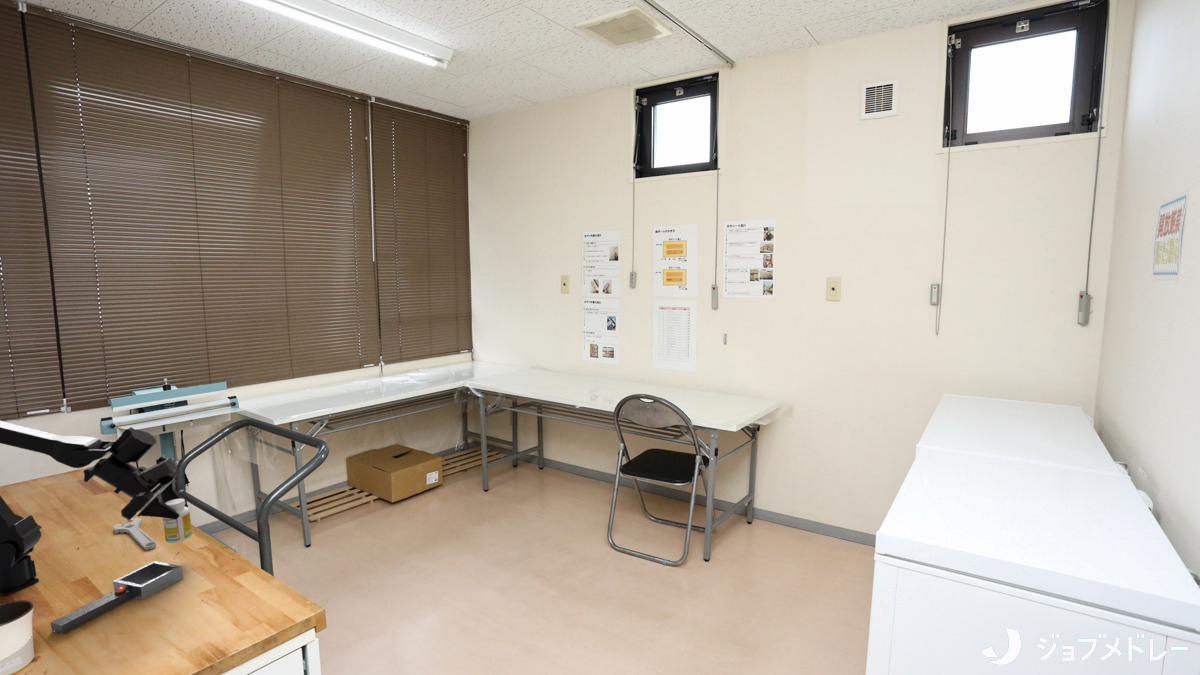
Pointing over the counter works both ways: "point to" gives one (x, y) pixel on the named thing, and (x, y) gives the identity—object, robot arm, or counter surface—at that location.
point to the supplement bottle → (178, 523)
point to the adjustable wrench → (136, 533)
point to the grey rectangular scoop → (123, 593)
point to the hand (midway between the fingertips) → (182, 512)
